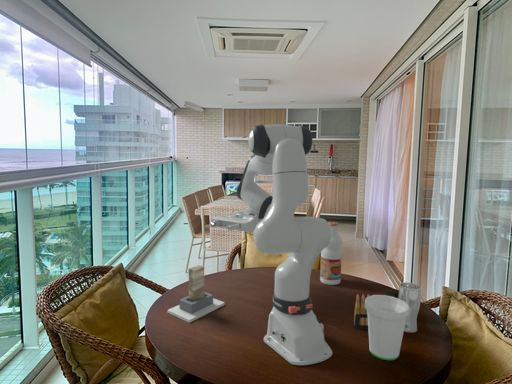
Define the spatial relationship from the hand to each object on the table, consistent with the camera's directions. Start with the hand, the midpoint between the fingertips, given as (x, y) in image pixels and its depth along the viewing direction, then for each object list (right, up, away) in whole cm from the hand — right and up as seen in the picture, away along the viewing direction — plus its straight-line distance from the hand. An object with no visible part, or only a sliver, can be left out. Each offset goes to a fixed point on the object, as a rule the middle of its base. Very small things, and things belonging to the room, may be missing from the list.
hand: (219, 226), depth 133 cm
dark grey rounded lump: (+66, -32, -7) cm, 74 cm away
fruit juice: (+49, -28, +23) cm, 61 cm away
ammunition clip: (+53, -33, -18) cm, 65 cm away
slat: (-8, -29, -6) cm, 31 cm away
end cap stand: (-8, -30, -6) cm, 32 cm away
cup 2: (+53, -34, -32) cm, 71 cm away
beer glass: (+66, -33, -18) cm, 76 cm away
